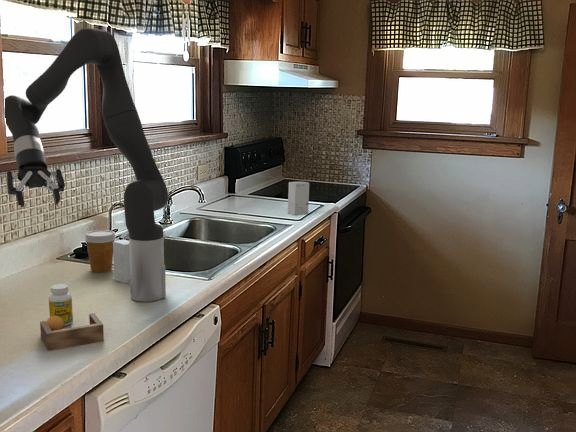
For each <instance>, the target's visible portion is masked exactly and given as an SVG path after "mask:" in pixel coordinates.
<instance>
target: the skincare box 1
mask: <svg viewBox="0 0 576 432" xmlns="http://www.w3.org/2000/svg"><path fill="white" fill-rule="evenodd" d="M113 279H114V280H115V281H116V282H121V283H125V284H130V256H129V239H118V240H114V241H113Z"/></svg>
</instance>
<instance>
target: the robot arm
mask: <svg viewBox="0 0 576 432" xmlns="http://www.w3.org/2000/svg"><path fill="white" fill-rule="evenodd" d="M87 64H88V65H95V66H96V68H97V72H98V73H99V76H100V79H101V82H102V91H103V92H102V99H101V100H102V101H101V116H102V119H103V122H104V125H105V129H106V131H107V135H108V136H109V139H110V140H111V142H112V143H113V144H114V146H115V147H116V149H118V150H119V151H120V153H121V154H122V155H123V156H124V157H125V158H126V160H127V161H128V162H129V165H130V166H131V168H132V171H133V172H134V176H135V179H136V180H133V181H130V183H128V185H126V187H125V190H124V194H123V210H124V220H125V221H124V222H125V226H126V230H127V232H128V241H129V256H130V283H129V284H130V285H129V288H130V289H129V292H130V299H131V300H133V301H135V302H142V303H144V302H154V301H155V302H156V301H159V300H162V299H166V297H167V296H166V295H167V293H166V288H167V287H166V265H165V261H164V260H165V258H164V256H165V255H164V254H165V253H164V252H165V251H164V227H163V226H162V225H160V224H158V223H156V222H155V221H156V220H155V212H156V211H159V210H161V209H163V208H164V207H166V205H167V202H168V200H169V193H168V192H169V191H168V187H167V185H166V183H165V179H164V178H163V176H162V174H161V171H160V170H159V168H158V165H157V163H156V161H155V158H154V156H153V154H152V151H151V148H150V145H149V142H148V139H147V137H146V134H145V131H144V128H143V125H142V122H141V119H140V115H139V113H138V110H137V107H136V103H135V101H134V99H133V96H132V94H131V90H130V87H129V84H128V81H127V78H126V74H125V71H124V66H123V62H122V58H121V54H120V50H119V46H118V43H117V40H116V39H115V37H114V35H113V34H112V33H110V31H107V30H105V29H99V28H92V27H91V28H90V27H84V28H81V29H79V30H77V31H76V32H75V33H74V35H73V36H72V37H71V38H70V39H69V41H67V44H65V46H64V48H62V50H61V52H60V53H59V54H58V56H56V58H55V59H54V61H53V62H52V63H51V64H50V65H49V66H48V68H47V69H46V70H45V71H44V72H42V74H40V76H38V77H37V78H36V79H35V80H34V81H33V82H32V83H30V85H28V87H27V88H26V90H25V96H26V98H27V99H25V98H22V97H20V96H17V95H14V94H13V95H8V96H6V97H5V98H4V99H5V118H6V123H5V125H6V127H7V128H8V130H9V131H10V133H11V135H12V140H13V141H12V142H13V146H14V147H13V150H14V158H15V162H16V167H17V173H15V172H14V173H13V172H12V171H11V170H8V171H7V172H6V188H7V194H8V195H9V196H11V195H14V196H15V197H16V203H17V205H18V206H20V207H21V208H24V207H25V199H24V193H23V192H25V191H26V189H27V188H29V189H33V188H34V189H35V188H39V189H40V188H45V189H46V190H47V191H50V192H51V193H52V197H53V203H54V205H56V206H57V205H58V204H59V203H60V202H61V194H60V193H61V192H62V193H63V192H64V191H65V187H66V183H65V180H64V177H63V174H62V171H61V170H62V169H59V168H57V169H56V170H55V171H50V170H49V168H48V164H47V159H46V155H45V150H44V146H43V143H42V141H41V136H40V132H39V128H38V126H37V125H36V124H37V123H39V121H40V120H41V117H42V116H43V114H44V112H45V111H46V110H47V108H48V106H49V104H52V102H53V101H54V100H55V99H56V98H58V97H59V96H60V95H61V94H62V93H63V92H64V90H65V89H66V87H67V85H68V82H69V80H70V78H71V76H72V75H73V74H74V73H75V72H76V71H78V69H80V68H82V67H83V66H86V65H87ZM51 177H52V178H53V179H54V180H55V181H56V182H54V181H53V180H52V179H51ZM16 179H17V180H18V181H19V182H20V183H19V184H18V185H17V187H14V183H13V182H15V181H16Z"/></svg>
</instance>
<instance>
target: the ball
mask: <svg viewBox="0 0 576 432" xmlns="http://www.w3.org/2000/svg"><path fill="white" fill-rule="evenodd" d="M45 321H46V323H47V324H48V326H49V328H50V329H51V331H55V330H61V329H64V327H63V320H62V318H61V317H59V316H51V317H50V316H49V317H48V318H47V319H46V320H45Z"/></svg>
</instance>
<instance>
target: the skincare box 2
mask: <svg viewBox="0 0 576 432" xmlns="http://www.w3.org/2000/svg"><path fill="white" fill-rule="evenodd" d="M287 194H288V195H287V197H288V198H287V200H288V201H287V213H288V214H289V215H292V216H301V215H306V214H307V215H308V214H309V205H310V204H309V202H310V200H309V199H310V182H307V181H289V182H288V193H287Z"/></svg>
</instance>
